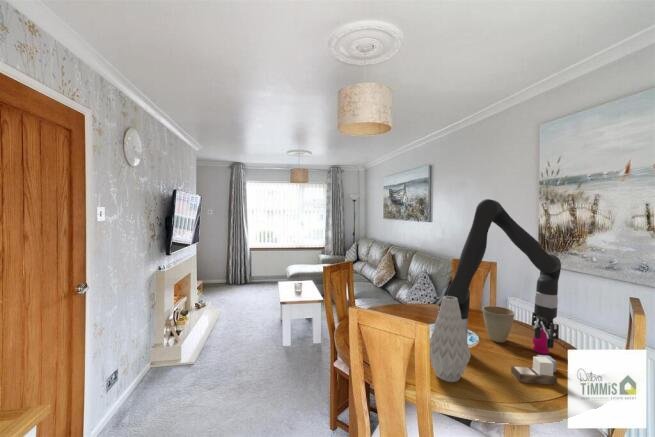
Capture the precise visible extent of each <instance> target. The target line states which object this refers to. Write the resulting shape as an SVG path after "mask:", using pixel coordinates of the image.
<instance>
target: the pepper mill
mask: <svg viewBox="0 0 655 437" xmlns="http://www.w3.org/2000/svg"><path fill="white" fill-rule="evenodd" d="M532 343H533V351H534V352H536V353H538V354H540V355H548V354H549V353H550V348H547V347H546V343H547V335H546V333H545V332H544V330H543V329H541V339H536V338H534V337H532Z"/></svg>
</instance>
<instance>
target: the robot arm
mask: <svg viewBox="0 0 655 437" xmlns="http://www.w3.org/2000/svg"><path fill="white" fill-rule="evenodd" d="M474 212H475V213H474V216H473V221H472V225H471V227H470V230H469V233H468V234H467V237H466V240H465V242H464V245H463V248H462V250H461V253H460V256H459V260H458V264H457V267H456V271H455V274H454V277H453V279H452V280H451V283H450V284H449V286H448V288H447V290H446V296H452V297H456V298H458V303H459V308H460V312H461V318H462V321H463V325H464V330H465V333H466V337H467V338H468V337H469V336H468V334H469V333H468V331H469V328H468V327H469V312H470V300H471V292H470V286H471V282H472V281H473V280H472V279H473V277H475V275H476V273H477V271H478V270H479V268H480V265H481V264H482V261H483V259H484V256H485V253H486V250H487V245H488V235H489V234H488V233H489V230H490V227H491V224H492V223H493V224H495V225H496V226H498V227H499V228H500V229H501V230H502V231H503V232H504V233H505V234H506V236H507V237H508V238H509V240H510V241H511V242H512V243H513V244H514V245H515V246H516V247H517V248H518V249H519V250H520V251H521V252H522V253H523V254H524V255H526V256H527V258H528V259H529V260H530V262H531V263H532V265H533V266H534V267H535V268H536V269H537V270H538V271H540V272H539V277H538V278H537V280H536V291H535V297H534V312H532V315H531V322H530V323H531V327H533V329H534V334H533V335H534V336H533V338H536V339H541V329H543V330H544V332H545V333H546V335H547V343H546V347H547V348H548V349H554V346H555V345H554V343H555V340H557V341H558V340H559V336H560V335H559V334H560V333H559V332H560V331H559V329H560V325H559V324H558V323H554V319H556V318H557V316H558V307H559V306H558V305H559V299H558V298H559V297H558V295H559V294H558V293H559V292H558V291H559V279H560V275H561V271H562V270H561V269H562V262H561V259H560V258H559V257H558V256H556V255H554V254H549V253H548V252H547V251H546V250H544V248H542V245H541V243H540V242H539V241H538V240H537V239H536V238H534V237H533V235H531V234H530V233H529V232H528V231H527V230H525V229H524V228H523V226H522V227H521V225H520V224H518V223H517V222H516V221H515V220H514V219H513V217H512V216H510V215H509V214H508V212H507V210H506V209H505V208H504V207H503V206H502V204H501V203H500V202H498V201H497V200H494V199H489V198H486V199H482V200H481V201H479V203H478V204H477V206H476V209H475V211H474Z"/></svg>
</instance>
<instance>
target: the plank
mask: <svg viewBox="0 0 655 437" xmlns="http://www.w3.org/2000/svg"><path fill="white" fill-rule="evenodd" d="M510 374H512V376H513V377H514V378H515V379H516V380H517V381H518V382H519V383H527V384H529V383H530V384H542V385H552V384H557V385H558V377H557V376H556V375H555V374H554V373H553V376H552V375H540V374H538V373H537V372H536V371H535V370H534V369H533V366H531V367H530V366H517V365H511V366H510Z"/></svg>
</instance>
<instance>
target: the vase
mask: <svg viewBox="0 0 655 437" xmlns="http://www.w3.org/2000/svg"><path fill="white" fill-rule="evenodd" d="M429 341H430V356H429V357H430V363H431V366H432V368H433V370H434V372H435V375H436V377H437V378H439V379H440V380H442V381H444V382H448V383H456V382H459V380H460V379H461V377H462V375H464V373H465V370H466V369H467V365H468V363H469V362H470V358H471V352H470V346H469V344H468V336H467V337H466V333H465V330H464V325H463V321H462V318H461V312H460V308H459V303H458V298H456V297H452V296H447V295H444V296H442V300H441V304H440V306H439V311H438V314H437V317H436V320H435V322H434V325H433V329H432V333H431V335H430V338H429Z"/></svg>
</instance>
